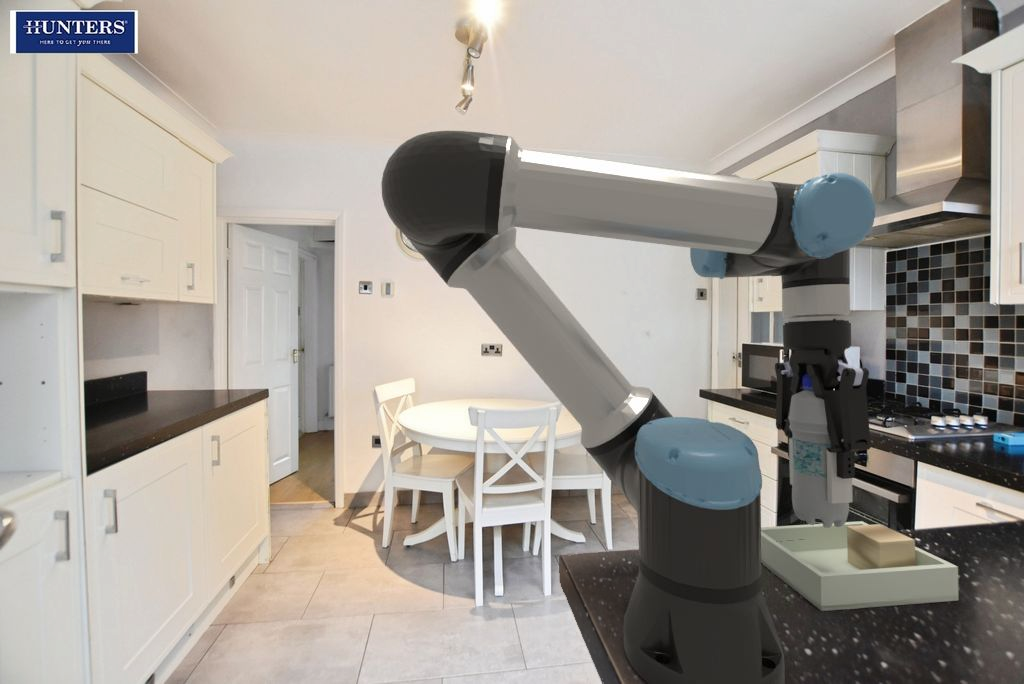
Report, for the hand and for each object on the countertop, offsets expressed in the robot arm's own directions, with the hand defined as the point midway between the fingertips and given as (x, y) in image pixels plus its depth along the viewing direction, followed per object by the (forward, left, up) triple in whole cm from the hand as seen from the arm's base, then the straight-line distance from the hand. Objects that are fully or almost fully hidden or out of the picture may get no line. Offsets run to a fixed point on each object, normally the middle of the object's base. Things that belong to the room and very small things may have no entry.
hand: (819, 492), depth 60 cm
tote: (+3, +1, -12) cm, 12 cm away
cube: (+8, +1, -11) cm, 14 cm away
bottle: (0, 0, -4) cm, 4 cm away
